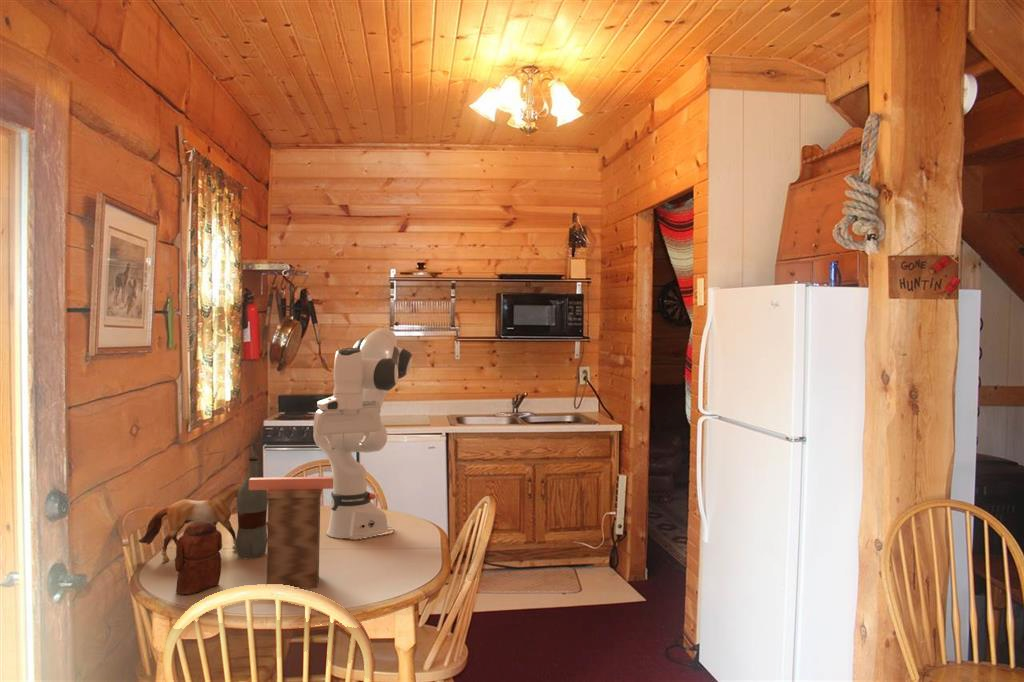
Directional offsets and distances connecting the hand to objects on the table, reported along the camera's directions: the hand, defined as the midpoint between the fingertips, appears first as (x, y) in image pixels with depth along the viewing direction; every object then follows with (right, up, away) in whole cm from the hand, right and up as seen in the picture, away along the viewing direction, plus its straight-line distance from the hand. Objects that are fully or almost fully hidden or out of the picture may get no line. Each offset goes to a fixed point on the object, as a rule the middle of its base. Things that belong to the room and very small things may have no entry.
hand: (347, 447), depth 225 cm
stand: (-10, -34, -21) cm, 41 cm away
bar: (-11, -8, -21) cm, 25 cm away
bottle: (-30, -33, +3) cm, 45 cm away
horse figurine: (-48, -33, +4) cm, 58 cm away
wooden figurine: (-34, -34, -27) cm, 55 cm away
